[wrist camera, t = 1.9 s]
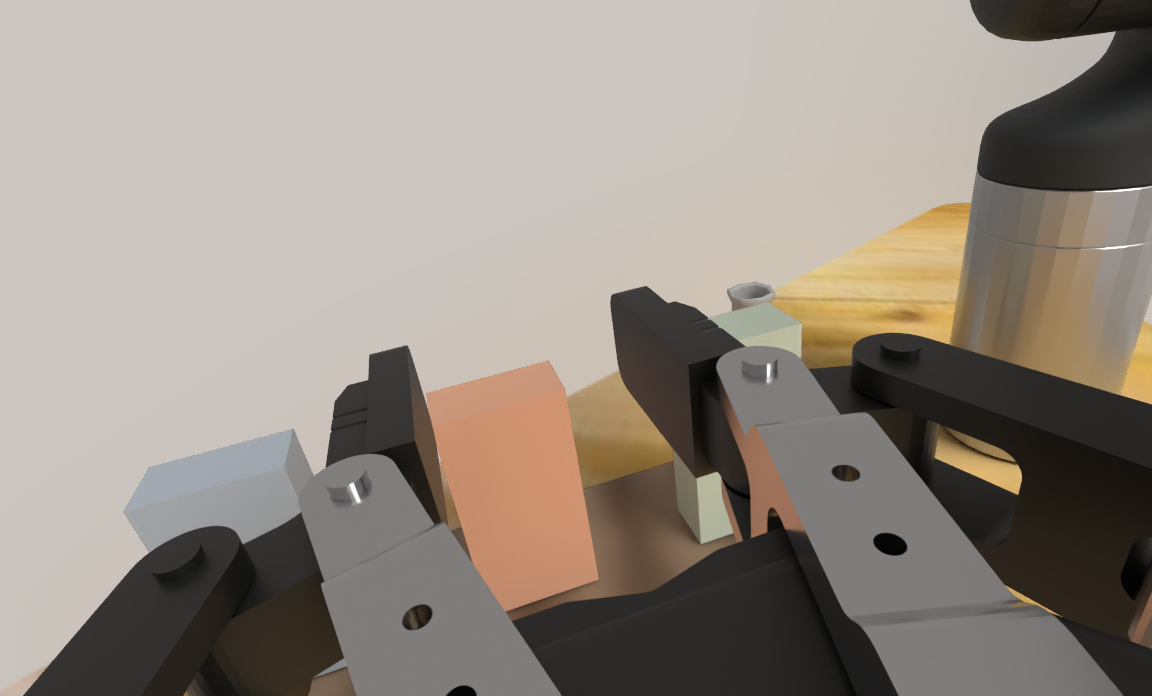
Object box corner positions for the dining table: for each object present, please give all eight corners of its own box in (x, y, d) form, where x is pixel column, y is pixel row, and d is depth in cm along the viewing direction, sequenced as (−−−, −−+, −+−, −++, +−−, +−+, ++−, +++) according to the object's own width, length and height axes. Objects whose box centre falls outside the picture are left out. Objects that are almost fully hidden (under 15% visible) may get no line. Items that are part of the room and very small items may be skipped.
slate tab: (372, 610, 33) (293, 428, 27) (371, 658, 30) (283, 467, 25) (255, 649, 32) (148, 467, 26) (244, 701, 29) (123, 511, 23)
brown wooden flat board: (744, 460, 42) (743, 439, 41) (863, 589, 32) (865, 564, 31) (264, 613, 36) (253, 592, 35) (217, 835, 26) (199, 813, 25)
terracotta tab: (582, 541, 35) (548, 360, 29) (598, 579, 32) (564, 388, 27) (480, 574, 34) (426, 393, 28) (489, 617, 31) (430, 426, 26)
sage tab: (767, 480, 37) (767, 302, 32) (796, 511, 35) (802, 323, 29) (677, 509, 36) (662, 330, 31) (701, 544, 33) (688, 354, 28)
